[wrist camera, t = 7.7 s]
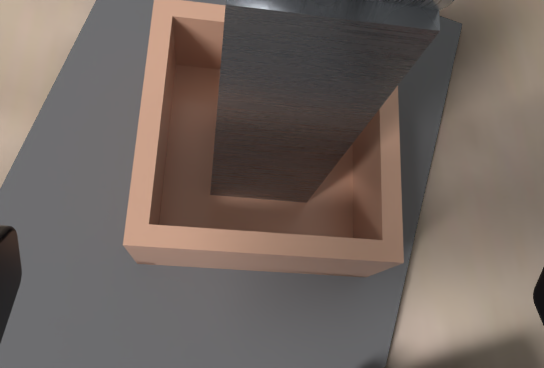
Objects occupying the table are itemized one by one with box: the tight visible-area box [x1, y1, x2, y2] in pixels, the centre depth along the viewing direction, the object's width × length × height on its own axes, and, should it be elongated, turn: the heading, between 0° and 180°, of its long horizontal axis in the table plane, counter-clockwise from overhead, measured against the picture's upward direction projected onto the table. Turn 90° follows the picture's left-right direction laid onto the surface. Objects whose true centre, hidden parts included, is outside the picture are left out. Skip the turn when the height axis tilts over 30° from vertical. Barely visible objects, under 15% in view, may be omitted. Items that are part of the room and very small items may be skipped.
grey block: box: [210, 0, 454, 203], centre depth 14 cm, size 3×4×14 cm
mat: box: [0, 0, 462, 368], centre depth 21 cm, size 22×16×1 cm
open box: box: [123, 0, 404, 277], centre depth 20 cm, size 9×9×4 cm
